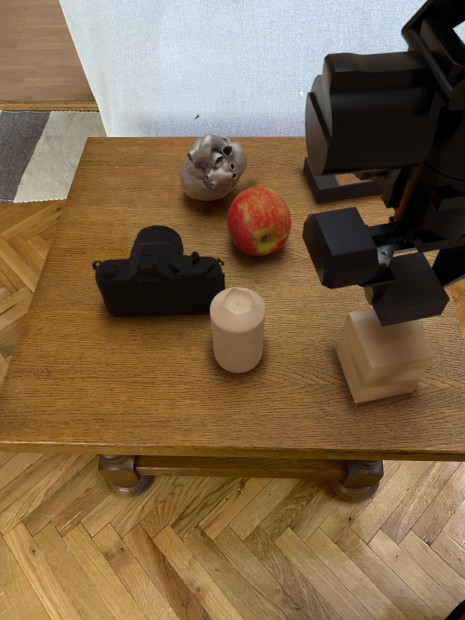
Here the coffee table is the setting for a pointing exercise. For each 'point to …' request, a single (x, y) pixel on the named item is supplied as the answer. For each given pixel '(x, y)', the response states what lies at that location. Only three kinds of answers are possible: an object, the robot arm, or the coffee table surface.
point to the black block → (411, 292)
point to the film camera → (159, 277)
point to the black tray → (337, 187)
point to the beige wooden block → (382, 356)
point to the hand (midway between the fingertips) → (399, 295)
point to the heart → (212, 167)
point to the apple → (259, 221)
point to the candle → (237, 328)
